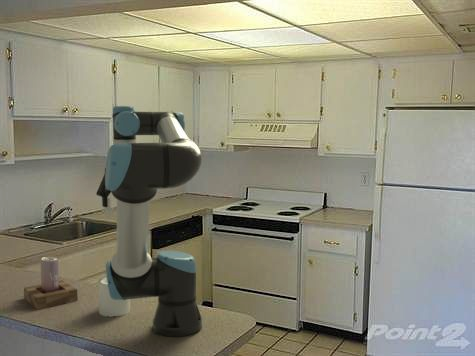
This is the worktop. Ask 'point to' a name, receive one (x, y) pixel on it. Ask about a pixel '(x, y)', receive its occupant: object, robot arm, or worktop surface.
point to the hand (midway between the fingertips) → (126, 214)
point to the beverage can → (49, 274)
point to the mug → (110, 301)
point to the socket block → (50, 295)
